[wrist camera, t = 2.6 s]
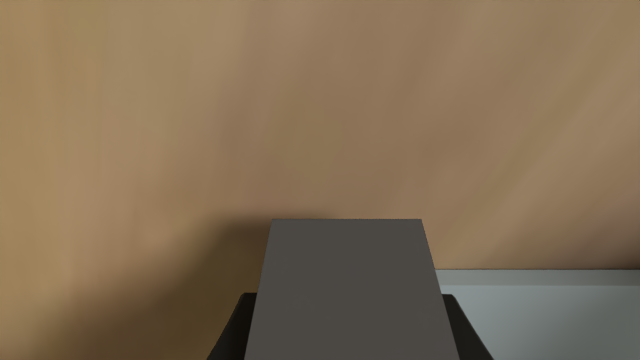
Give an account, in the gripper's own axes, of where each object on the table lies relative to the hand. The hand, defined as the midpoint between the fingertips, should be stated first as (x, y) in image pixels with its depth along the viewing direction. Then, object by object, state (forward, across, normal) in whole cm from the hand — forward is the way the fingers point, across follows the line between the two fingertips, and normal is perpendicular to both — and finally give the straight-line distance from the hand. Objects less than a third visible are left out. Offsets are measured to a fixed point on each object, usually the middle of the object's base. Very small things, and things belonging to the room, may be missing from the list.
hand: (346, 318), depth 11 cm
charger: (+2, 0, 0) cm, 2 cm away
